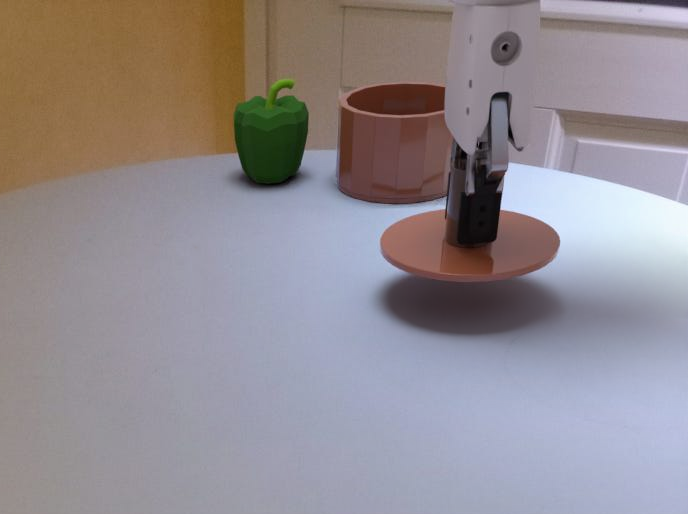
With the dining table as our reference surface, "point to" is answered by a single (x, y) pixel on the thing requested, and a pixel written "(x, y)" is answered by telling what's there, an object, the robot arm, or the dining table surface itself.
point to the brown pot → (393, 142)
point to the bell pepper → (271, 134)
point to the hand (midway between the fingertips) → (469, 228)
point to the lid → (469, 259)
